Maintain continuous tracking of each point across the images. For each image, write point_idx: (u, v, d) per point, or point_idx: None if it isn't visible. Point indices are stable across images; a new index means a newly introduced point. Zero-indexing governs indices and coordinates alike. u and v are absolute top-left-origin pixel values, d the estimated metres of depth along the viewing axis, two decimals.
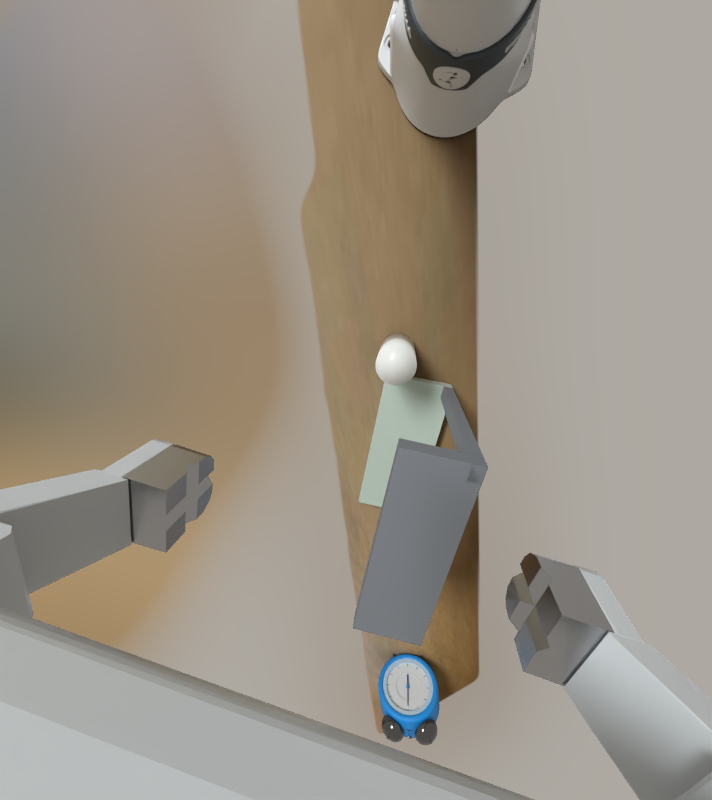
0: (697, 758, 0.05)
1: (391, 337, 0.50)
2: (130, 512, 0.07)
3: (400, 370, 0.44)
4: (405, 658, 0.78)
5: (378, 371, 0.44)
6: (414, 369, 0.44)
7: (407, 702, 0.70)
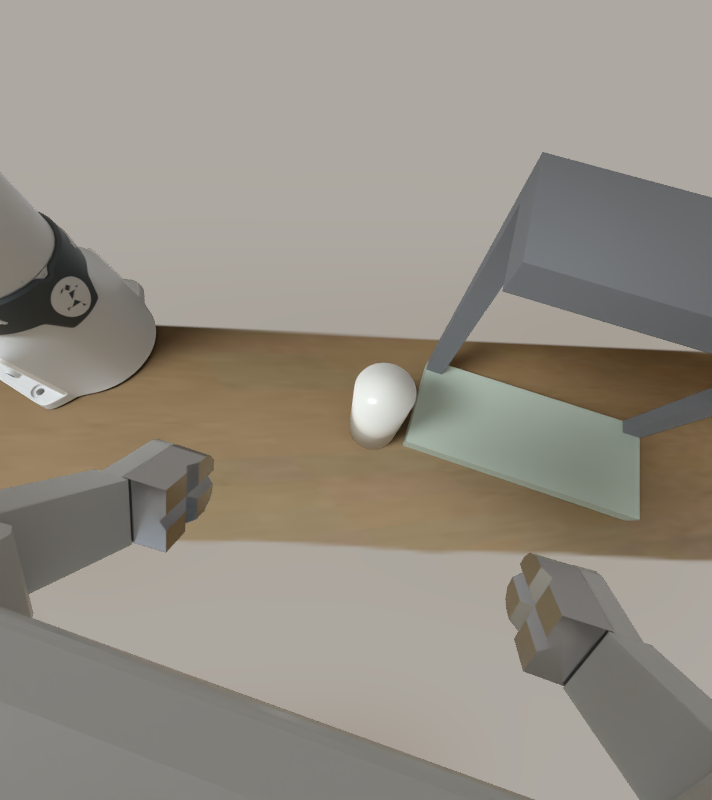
0: (697, 759, 0.05)
1: (351, 420, 0.35)
2: (130, 512, 0.07)
3: (393, 385, 0.29)
4: None
5: (392, 417, 0.28)
6: (393, 366, 0.30)
7: None
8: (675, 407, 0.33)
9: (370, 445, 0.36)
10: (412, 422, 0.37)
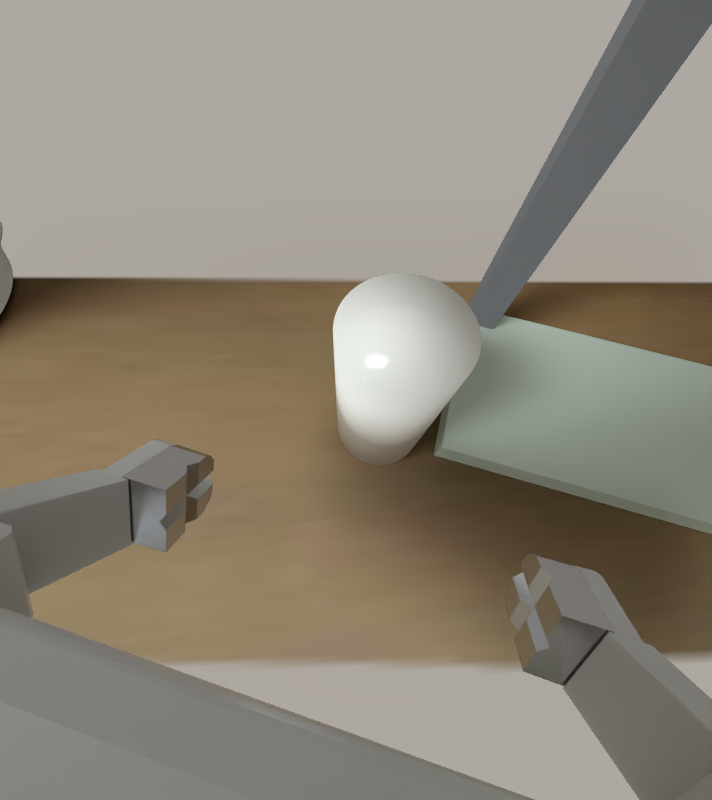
0: (697, 759, 0.05)
1: (337, 413, 0.18)
2: (130, 512, 0.07)
3: (424, 318, 0.12)
4: None
5: (430, 390, 0.11)
6: (420, 280, 0.13)
7: None
8: None
9: (376, 458, 0.20)
10: (450, 412, 0.21)
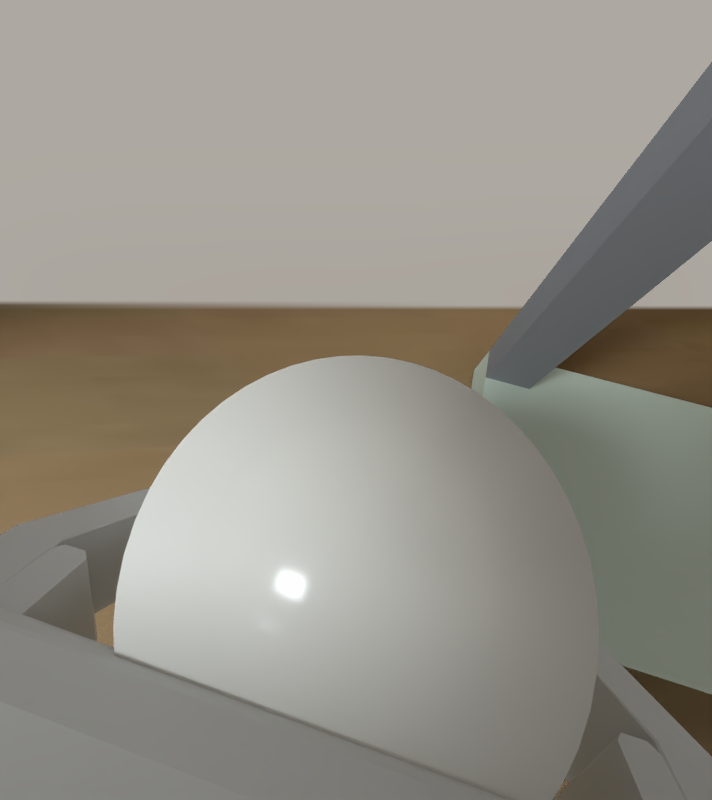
0: (609, 728, 0.05)
1: None
2: None
3: (416, 510, 0.04)
4: None
5: None
6: (407, 376, 0.05)
7: None
8: None
9: None
10: None
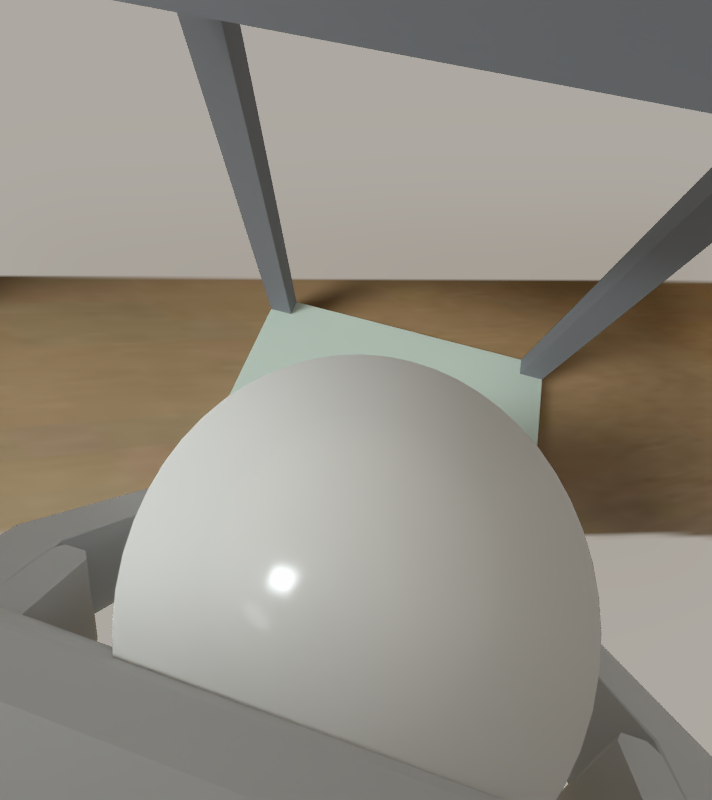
0: (609, 728, 0.05)
1: None
2: None
3: (417, 510, 0.04)
4: None
5: None
6: (407, 375, 0.05)
7: None
8: (564, 324, 0.24)
9: None
10: (242, 372, 0.29)
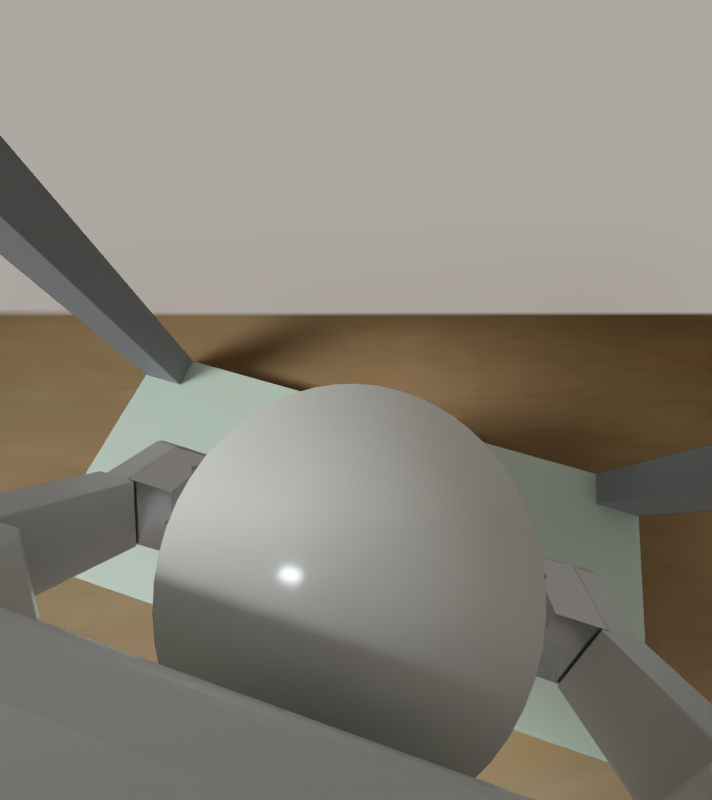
0: (689, 756, 0.05)
1: None
2: (135, 514, 0.07)
3: (399, 517, 0.05)
4: None
5: None
6: (393, 402, 0.06)
7: None
8: None
9: None
10: None
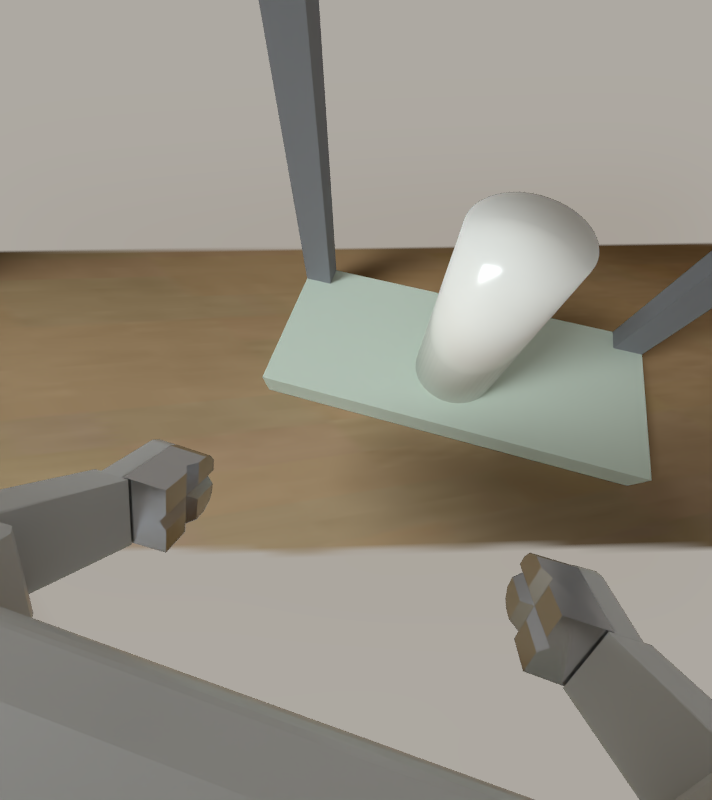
0: (698, 759, 0.05)
1: (429, 345, 0.20)
2: (130, 512, 0.07)
3: (543, 227, 0.14)
4: None
5: (560, 282, 0.12)
6: (533, 197, 0.14)
7: None
8: (695, 274, 0.19)
9: (461, 391, 0.21)
10: (276, 350, 0.24)
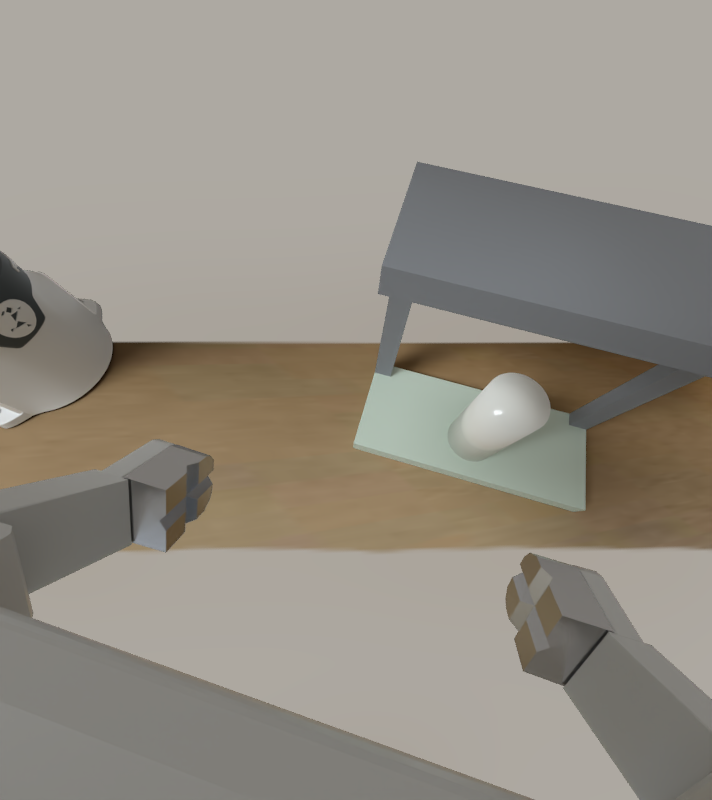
0: (698, 759, 0.05)
1: (460, 433, 0.34)
2: (130, 512, 0.07)
3: (524, 395, 0.28)
4: None
5: (531, 429, 0.27)
6: (520, 376, 0.29)
7: None
8: (609, 398, 0.33)
9: (477, 457, 0.35)
10: (360, 424, 0.38)
